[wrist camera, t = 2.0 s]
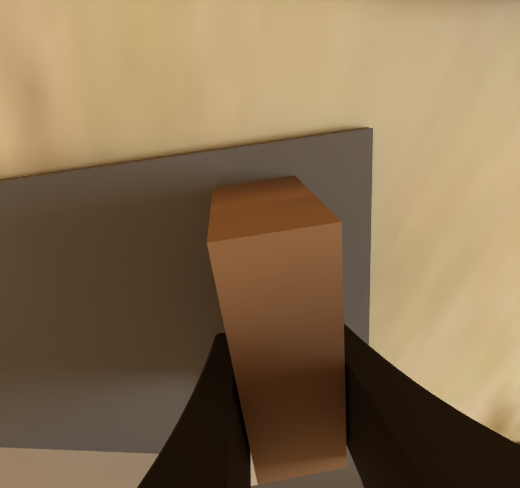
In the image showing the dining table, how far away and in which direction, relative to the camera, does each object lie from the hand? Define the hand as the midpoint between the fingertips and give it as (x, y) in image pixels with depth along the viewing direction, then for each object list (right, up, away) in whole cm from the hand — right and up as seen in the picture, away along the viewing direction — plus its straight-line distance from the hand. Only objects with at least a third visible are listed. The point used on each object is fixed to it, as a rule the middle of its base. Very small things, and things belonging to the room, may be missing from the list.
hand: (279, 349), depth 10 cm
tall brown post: (0, -1, +2) cm, 2 cm away
